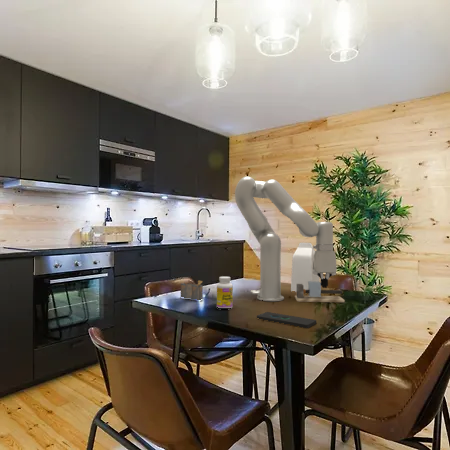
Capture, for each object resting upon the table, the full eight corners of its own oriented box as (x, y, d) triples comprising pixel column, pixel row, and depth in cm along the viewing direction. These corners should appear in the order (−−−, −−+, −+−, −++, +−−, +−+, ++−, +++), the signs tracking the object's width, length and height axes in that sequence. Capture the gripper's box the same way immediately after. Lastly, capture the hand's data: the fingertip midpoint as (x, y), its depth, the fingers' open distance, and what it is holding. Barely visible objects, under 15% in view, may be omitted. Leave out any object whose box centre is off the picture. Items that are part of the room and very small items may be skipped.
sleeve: (309, 296, 156) (309, 282, 156) (308, 295, 160) (308, 281, 160) (320, 296, 155) (320, 282, 155) (319, 295, 159) (319, 281, 159)
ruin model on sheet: (203, 301, 155) (203, 280, 155) (198, 302, 153) (199, 281, 153) (185, 298, 162) (185, 278, 162) (180, 299, 159) (180, 279, 159)
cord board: (297, 301, 154) (297, 286, 154) (295, 297, 162) (294, 283, 163) (344, 302, 152) (344, 286, 152) (339, 298, 161) (339, 283, 161)
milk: (290, 291, 180) (290, 242, 180) (299, 288, 189) (299, 242, 190) (312, 293, 173) (312, 243, 174) (320, 290, 183) (319, 242, 183)
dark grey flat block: (267, 311, 129) (317, 319, 117) (267, 315, 129) (317, 324, 117) (255, 315, 123) (307, 324, 111) (255, 320, 123) (307, 330, 111)
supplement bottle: (221, 310, 135) (221, 278, 136) (214, 307, 141) (214, 276, 141) (235, 309, 138) (235, 277, 139) (228, 305, 144) (228, 275, 144)
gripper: (309, 248, 154) (309, 288, 154) (342, 248, 153) (342, 289, 153) (307, 247, 162) (306, 285, 161) (338, 248, 161) (338, 286, 160)
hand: (324, 287), depth 157 cm, fingers closed
